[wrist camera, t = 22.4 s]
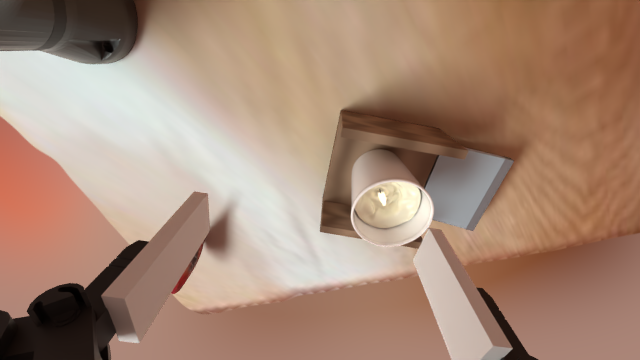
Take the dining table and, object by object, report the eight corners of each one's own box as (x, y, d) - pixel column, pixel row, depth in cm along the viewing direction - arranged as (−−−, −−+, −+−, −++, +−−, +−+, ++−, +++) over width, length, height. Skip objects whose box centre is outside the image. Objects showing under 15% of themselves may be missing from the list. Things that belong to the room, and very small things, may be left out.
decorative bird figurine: (189, 258, 56) (162, 297, 47) (206, 198, 48) (177, 232, 39) (202, 262, 56) (177, 302, 48) (220, 204, 49) (195, 238, 40)
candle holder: (334, 172, 41) (334, 215, 30) (380, 131, 37) (399, 163, 27) (373, 208, 44) (386, 258, 33) (420, 172, 40) (451, 216, 29)
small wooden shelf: (322, 197, 47) (319, 231, 38) (340, 110, 39) (342, 127, 30) (405, 211, 47) (421, 249, 38) (438, 128, 40) (468, 150, 31)
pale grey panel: (414, 214, 44) (473, 231, 42) (443, 144, 38) (514, 161, 36) (413, 210, 45) (470, 226, 44) (442, 142, 39) (510, 157, 37)
